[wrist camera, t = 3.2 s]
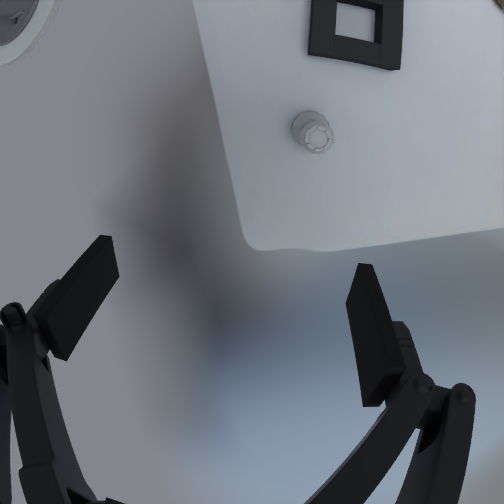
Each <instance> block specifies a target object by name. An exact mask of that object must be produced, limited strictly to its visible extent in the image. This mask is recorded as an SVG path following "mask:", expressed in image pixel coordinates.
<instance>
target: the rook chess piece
mask: <svg viewBox="0 0 504 504" xmlns="http://www.w3.org/2000/svg"><path fill="white" fill-rule="evenodd" d="M292 133H293V136H294V138H295V139H296V140H297V142H298V143H299V144H301V145H303V146H304V147H305V149H306V150H308V151H310V152H311V153H316V154H320V153H324V152H326V151H327V150H329V149H330V148H331V146H332V144H333V141H334V135H333V131H332V129H331V128H330V126H329V123H328V121H327V120H326V118H325V117H324V116H323V115H321V114H320V113H318V112H314V111H306V112H302V113H301V114H300V115H298V116H297V117H296V118H295V120H294V122H293V124H292Z"/></svg>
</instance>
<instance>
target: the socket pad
mask: <svg viewBox="0 0 504 504" xmlns="http://www.w3.org/2000/svg"><path fill="white" fill-rule="evenodd" d="M337 2H341V3H346V4H351V5H356V6H360V7H365V8H369V9H373V10H376V15H375V36H374V43H373V42H369V41H364V40H360V39H355V38H350V37H345V36H339V35H335V27H336V9H337ZM403 2H404V0H311V16H310V31H309V45H308V55H313V56H320V57H327V58H333V59H339V60H345V61H350V62H355V63H360V64H365V65H369V66H374V67H378V68H382V69H387V70H391V71H392V70H400V65H401V52H402V36H403Z"/></svg>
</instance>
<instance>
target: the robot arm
mask: <svg viewBox="0 0 504 504" xmlns="http://www.w3.org/2000/svg"><path fill="white" fill-rule="evenodd" d="M38 2H39V0H0V46H3V45H6V44H8V43H10V42H12V41H13V40H14V39H15V38H17V37H18V36H19V35H20V34H21V32H22V31H23V30H24V29H25V27H26V26H27V24H28V23H29V21H30V20H31V18H32V16H33V14H34V12H35V10H36V7H37V5H38ZM118 278H119V272H118V267H117V262H116V258H115V253H114V247H113V241H112V237H111V236H105V235H100V236H99V237H98V238H97V239H96V240H95V241H94V242H93V243H92V244H91V245H90V246H89V248H88V249H87V250H86V251H85V252H84V253H83V254H82V255H81V257H80V258H79V259H78V260H77V261H76V262H75V263H74V265H73V266H72V267H71V268H70V269H69V270H68V272H67V273H66V274H65V275H64V276H63V278H62V279H61V280H59V279H57V280H56V281H54V282H53V283H51V284H50V285H49V286H48V287H47V288H46V289H45V291H44V293H42V294H41V295H40V298H38V299H37V301H36V302H35V303H34V304H33V306H32V307H31V308H30V310H29V311H28V312H27V313H26V314H25V311H24V309H23V307H22V305H21V304H20V303H17V302H13V303H9V304H7V305H6V306H4V307H3V308H2V310H1V311H0V319H1V321H2V323H3V325H0V504H11V501H12V495H11V474H10V427H11V426H10V425H11V411H12V414H13V420H14V426H15V432H16V436H17V441H18V446H19V451H20V455H21V459H22V464H23V467H22V468H21V469H20V470H19V478H20V482H21V485H22V489H23V493H24V496H25V499H26V502H27V504H124V503H122V502H118V501H116V500H113V499H110V498H106V500H105V501H97V499H96V497H95V495H94V493H93V491H92V490H91V488H90V487H89V486H88V485H87V483H86V481H85V479H84V477H83V475H82V472H81V470H80V467H79V464H78V462H77V459H76V457H75V454H74V451H73V448H72V445H71V442H70V439H69V436H68V433H67V430H66V426H65V423H64V420H63V416H62V412H61V409H60V405H59V401H58V398H57V393H56V389H55V385H54V380H53V376H52V371H51V366H50V361H49V358H48V355H47V353H48V351H49V350H51V352H52V353H53V355H54V357H56V358H58V359H61V360H64V361H67V360H68V358H69V356H70V355H71V353H72V351H73V350H74V348H75V346H76V344H77V343H78V341H79V339H80V338H81V336H82V334H83V333H84V331H85V329H86V328H87V326H88V324H89V323H90V321H91V320H92V318H93V316H94V315H95V313H96V311H97V310H98V308H99V307H100V305H101V304H102V302H103V301H104V299H105V298H106V296H107V295H108V293H109V291H110V290H111V288H112V287H113V285H114V284H115V282H116V281H117V279H118ZM346 308H347V313H348V319H349V324H350V329H351V334H352V340H353V345H354V351H355V357H356V363H357V369H358V376H359V383H360V389H361V396H362V404H363V407H378V406H380V405H381V404H382V402H383V401H384V400H385V404H386V408H385V410H384V411H383V412H382V413H381V414H380V416H379V417H378V418H377V420H376V422H375V423H374V425H373V426H372V427H371V429H370V430H369V431H368V432H367V434H366V435H365V436H364V437H363V439H362V440H361V441H360V443H359V444H358V445H357V446H356V447H355V449H354V450H353V451H352V452H351V454H350V455H349V456H348V457H347V458H346V460H345V461H344V462H343V463H342V464H341V465H340V466H339V467H338V469H337V470H336V471H335V472H334V473H333V474H332V475H331V476H330V478H329V479H328V480H327V481H326V482H325V483H324V484H323V485H322V486H321V487H320V488H319V489H318V490H317V491H316V492H315V493H314V494H313V495H312V496H311V497H310V498H309V499H308V500H307V501H306V502H305V503H304V504H363V503H364V502H365V501H366V500H367V498H368V497H369V496H370V495H371V493H372V492H373V491H374V490H375V488H376V487H377V486H378V484H379V483H380V482H381V480H382V479H383V477H384V476H385V474H386V473H387V472H388V470H389V469H390V468H391V466H392V465H393V463H394V462H395V460H396V459H397V457H398V456H399V454H400V452H401V451H402V449H403V448H404V446H405V445H406V443H407V442H408V440H409V438H410V437H411V435H412V433H413V432H414V430H415V428H418V429H420V432H419V436H418V440H417V443H416V446H415V450H414V453H413V456H412V460H411V463H410V465H409V468H408V471H407V474H406V477H405V480H404V483H403V485H402V488H401V491H400V493H399V496H398V498H397V501H396V503H395V504H457V503H458V500H459V497H460V493H461V489H462V485H463V480H464V476H465V471H466V467H467V461H468V456H469V450H470V444H471V438H472V431H473V423H474V414H475V404H476V397H475V393H474V392H473V390H472V388H471V387H470V386H468V385H466V384H464V383H458V384H456V385H455V386H453V388H452V389H448V388H444V387H440V386H437V385H435V383H434V381H433V380H432V378H431V377H429V376H428V375H426V374H424V373H423V370H422V367H421V364H420V360H419V357H418V354H417V351H416V348H415V347H414V346H415V345H414V342H413V340H412V336H411V334H410V331H409V329H408V328H407V326H406V325H405V324H404V323H403V322H401V321H392V319H391V316H390V314H389V310H388V307H387V304H386V302H385V299H384V296H383V293H382V290H381V287H380V284H379V282H378V279H377V276H376V273H375V271H374V268H373V265H371V264H363V263H358V266H357V269H356V273H355V276H354V279H353V282H352V286H351V289H350V292H349V295H348V298H347V301H346Z"/></svg>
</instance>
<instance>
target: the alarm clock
mask: <svg viewBox="0 0 504 504" xmlns="http://www.w3.org/2000/svg"><path fill="white" fill-rule="evenodd" d="M498 2H499V3H500V5H501V6H502V7H503V8H504V0H498Z"/></svg>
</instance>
